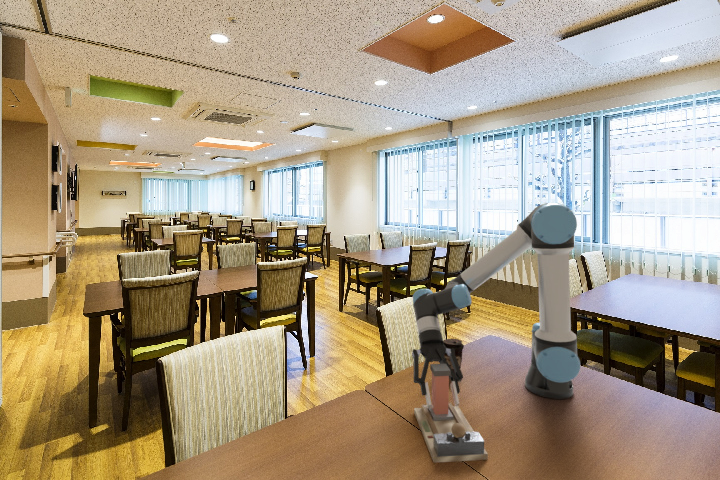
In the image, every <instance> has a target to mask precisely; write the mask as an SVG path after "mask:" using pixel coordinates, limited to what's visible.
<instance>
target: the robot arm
mask: <svg viewBox="0 0 720 480" xmlns="http://www.w3.org/2000/svg"><path fill="white" fill-rule="evenodd" d="M577 226H578V221H577V218H576V215H575V213H574V212H573V211H572V209H570V207H568V206H567V205H565V204H562V203H560V202H559V203H558V202H547V203H546V202H545V203H543V204H540V205H538V206H536V207H535V208H534V209H533V210H532V211H531V212H530V213H529V214H528V215H527V216H526V217H525V218H524V219H523V220H522V221H521V222H519V224H517V226H516V230H514V231H513V232H512V233H511V234H509V235H507V236H506V237H505V238H504V239H503V240H501V241H500V242H499V243H497V245H495V246H494V247H492V248H491V249H490V250H489V251H487V253H485V254H483V256H481V257H480V258H479V259H477V260H476V261H475V262H474V263H473V264H471V265H470V266H469V267H468V268H466V269H465V270H464V271H462V272H460V274H458V275H457V276H456V277H455V278H452V279H450V281H449V282H448V283H447V285H446V287H445V288H444V289H442V290H439V291H435V292H433V291H432V290H431V289H429V288H424V289H422V288H421V289H418V290H416V291H415V292H414V293H413V295H412V303H413V304H412V305H413V309H414V310H413V312H414V316H415V323H416V327H417V329H416V330H417V333H418V340H419V346H420V348H419V349H415V348H414V349H413V350H412V352H411V356H412V360H413V383H414V384H418V385H419V386H420V392H421V395H422V396H425V397H424V398H425V401H426V405H427V408H430V407H431V405H432V398H431V393H430V388H429V382H428V381H426V378H427V374H428V370H429V367H430V363H431V362H436V363H437V362H438V364H446V365H447V366H448V367H449V369H450V370H451V376H449V380H450V381H451V383H449V384H450V385H449V386H450V389H451V394H452V398H453V399H452V400H453V404H454V406H459V405H460V399H459V394H460V392H461V389H460V385H459V382H461V381H462V380H463V379H464V376H463V372H462V370H461V368H460V367H459V364H458V362H457V359H456V356H455V349H454V348H451V349H447V348H446V347H445V346H444V343H443V340H444V338H443V334H442V332H441V330H442V329H441V325H440V319H439V315H443V314H446V313H450V312H452V311H453V312H454V311H456V310H460V309H464V308H466V307H468V306H470V305H472V296H471V293H473V292H474V291H475V290H476V289H477V288H479V287H480V286H482V285H483V284H484V283H485V282H487V281H488V280H490V279H491V278H492V277H494V276H496V275H497V274H498V273H499V272H500V271H501V270H503V269H504V268H505V267H507V266H508V265H509V264H510V263H512V262H513V261H514V260H516V259H518V258H519V257H520V256H522V255H523V254H524V253H525V252H527V251H528V250H529V249H532V250H533V251H535V253H536V254H537V256H536V257H537V280H538V284H537V285H538V308H539V309H538V310H539V314H538V315H539V316H538V317H539V322H535V323H534V324H533V325H532V329H531V353H530V354H531V355H530V356H531V357H530V359H531V360H530V366H529V368H528V371H527V373H526V376H525V379H524V386H525V388H526V389H527V390H528V391H529V392H531V393H533V394H535V395H538V396H540V397H543V398H547V399H552V400H565V399H568V398H571V397H572V396H573V395H574V384H573V380H574V379H576V378H577V376H578V375H579V373H580V371H581V360H580V358H579V356H578V345H577V344H578V340H577V339H578V338H577V334H576V333H574V331H572V330H571V329H572V328H571V327H572V324H571V323H572V322H571V287H570V283H571V282H570V252H571V251H572V250H573V249H574V248H575V233H576V230H577ZM445 352H446V353H447V354H448V356H449V357H450V361H451V364H452V366H453V369H454V372H455V373H454V372H453V370H452V369H451V367H450V365H449V364H448V362H447V361H446V358H445V356H444V354H445ZM420 355H421V356H422V357H423V358H424V362H423V367H422V370H421V376H419V374H420V373H419V371H420V369H419V368H420V367H419V365H420V364H419V360H420V359H419V358H420ZM455 374H456V375H455Z"/></svg>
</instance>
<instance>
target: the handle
mask: <svg viewBox="0 0 720 480" xmlns="http://www.w3.org/2000/svg"><path fill="white" fill-rule="evenodd" d="M429 368H430V369H429V370H430V371H431V407H430V408H427V404H426V405H424V408H427V409H428V411H429V413H430V415H431V417H432V419H433V421H440V420H453V415H452V413H451V412H450V410H449V408H448V405H449V403H450V402H449V399H450V398H449V395H450V392H449V391H450V390H449V388H450V387H449V386H450V385H449V384H450V378H449V376H451V370H450V369H449V367H448V366H447V365H446V364H440V363H433V364H432V363H431V364H430V363H429Z"/></svg>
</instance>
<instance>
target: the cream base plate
mask: <svg viewBox="0 0 720 480" xmlns="http://www.w3.org/2000/svg"><path fill="white" fill-rule="evenodd" d="M424 405H427V403H426V404H423V403H422V404H421V407H414V408H413V410H414V412H413V413H414V416H415V418H416V421H417V423H418V426H419V429H420V432H421V433H422V436H423V438H424V443H426V447H427V449H428V451H429V454H430V457H431V460H432V462H433V463H448V462H450V463H451V462H466V461H467V462H469V461H482V460H483V461H484V460H488V459H489V456H488V455H489V453H488V451H487V450H486V448H485V447H484V454H477V455H460V456H443V457H437V454H436V452H435V449H434V447H433V434H444V433H447V432H451V433H452V431H451V428H452V426H453V425H454V424H455V423H461V424H462V425H463V426H464V427H465V429H466V431H469V432H475V431H474V429H473V428H472V426H471V425H470V423H469V421H468V420H467V418H466V416H465V414H464V413H463V411H462V410H461V408H460V406H459V405H458V406H455V405H454V406H453V404H452V402H449V405H448V408H449V410H450V412H451V413H452V415H453V420H440V421H433V419H432V417H431V415H430V413H429V411H428V409H427V408H424Z"/></svg>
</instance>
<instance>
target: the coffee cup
mask: <svg viewBox="0 0 720 480" xmlns="http://www.w3.org/2000/svg"><path fill="white" fill-rule="evenodd" d="M462 342H463V341H462V340H461V339H459V338H458V339H457V338H446V339H443V343H444V346H445V347H446V348H447V349H451V348H454V349H455V356H456V359H457V362H458V364H459V367H460V369H461V366H462V361H463V350H464V348H465V347H464V344H463V343H462ZM444 356H445V358H446V361H447V362H448V364H449V365H450V367H451V369H452V370H453V372H454V369H453V366H452V364H451V361H450V357H449V356H448V354H447V353H446V352H445V354H444ZM454 373H455V372H454ZM455 375H456V374H455Z"/></svg>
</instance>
